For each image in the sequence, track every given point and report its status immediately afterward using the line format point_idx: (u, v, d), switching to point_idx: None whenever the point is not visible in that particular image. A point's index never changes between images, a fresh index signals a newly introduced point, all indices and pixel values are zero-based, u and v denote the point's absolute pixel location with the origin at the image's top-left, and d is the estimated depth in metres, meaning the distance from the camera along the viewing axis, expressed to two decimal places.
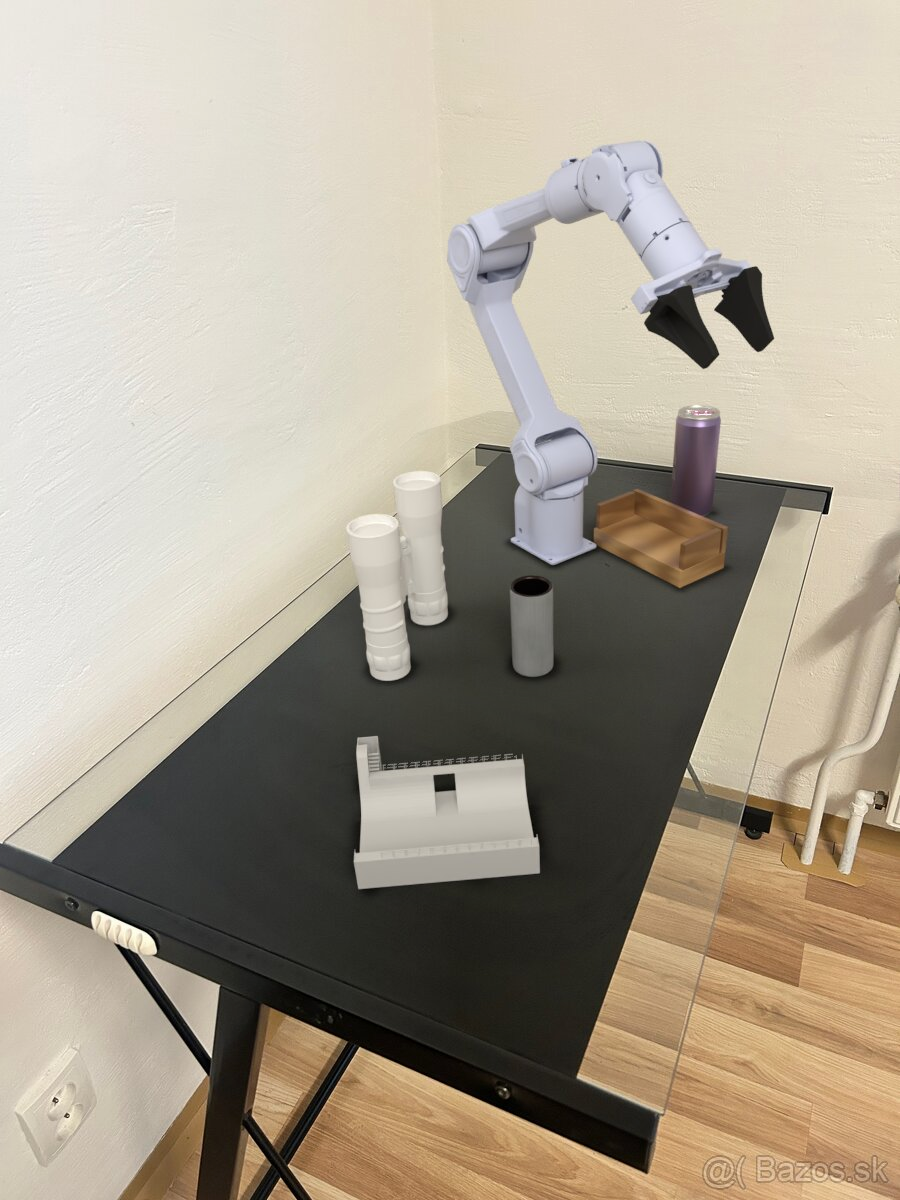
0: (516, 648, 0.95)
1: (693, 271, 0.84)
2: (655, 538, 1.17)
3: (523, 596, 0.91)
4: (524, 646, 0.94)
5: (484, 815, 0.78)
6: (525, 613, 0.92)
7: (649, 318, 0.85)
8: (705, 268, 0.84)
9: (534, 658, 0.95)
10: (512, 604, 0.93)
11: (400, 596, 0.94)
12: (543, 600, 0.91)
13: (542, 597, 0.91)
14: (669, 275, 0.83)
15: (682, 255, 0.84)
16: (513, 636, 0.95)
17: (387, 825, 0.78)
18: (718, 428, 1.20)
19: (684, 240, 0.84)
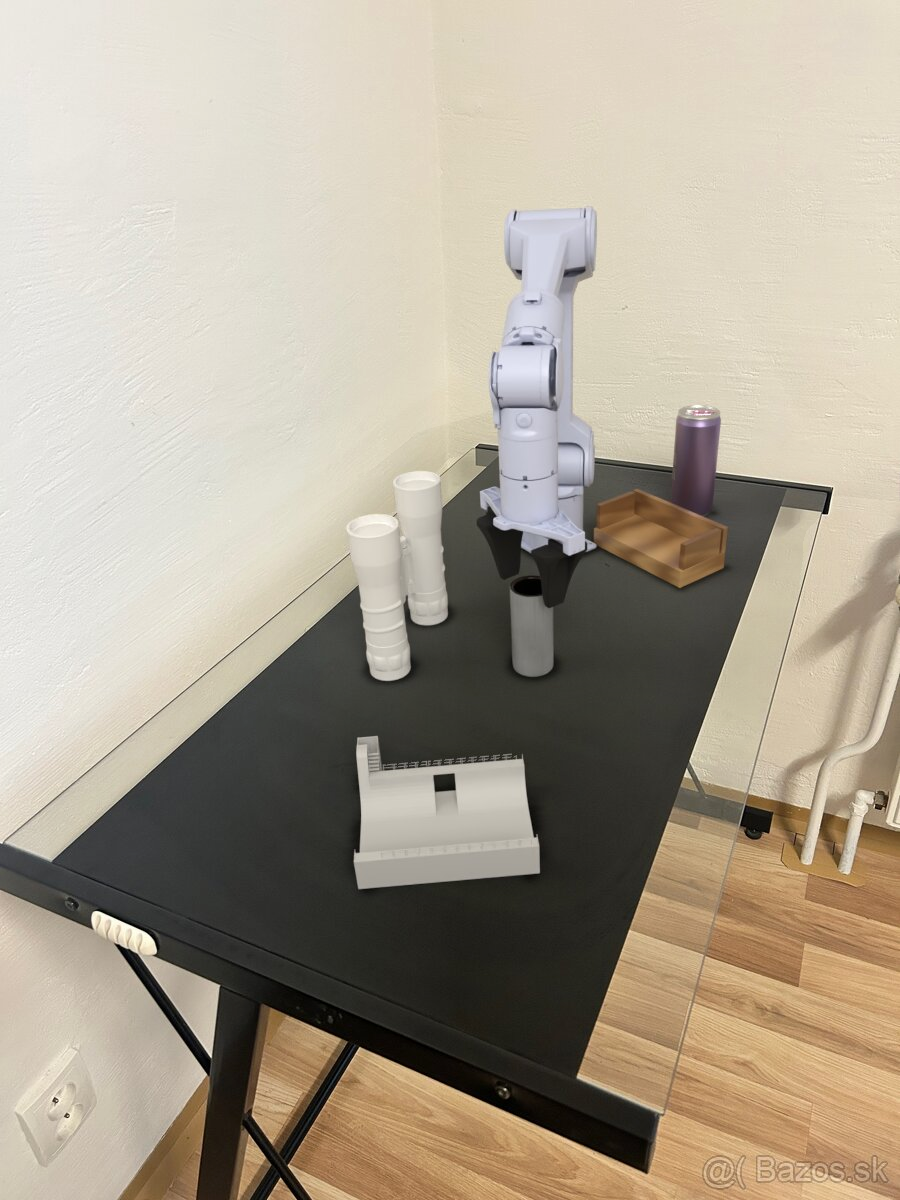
0: (516, 648, 0.95)
1: None
2: (655, 538, 1.17)
3: (523, 596, 0.91)
4: (524, 646, 0.94)
5: (484, 815, 0.78)
6: (525, 613, 0.92)
7: None
8: None
9: (534, 658, 0.95)
10: (512, 604, 0.93)
11: (400, 596, 0.94)
12: None
13: None
14: (491, 504, 0.91)
15: None
16: (513, 636, 0.95)
17: (387, 825, 0.78)
18: (718, 428, 1.20)
19: (501, 492, 0.86)
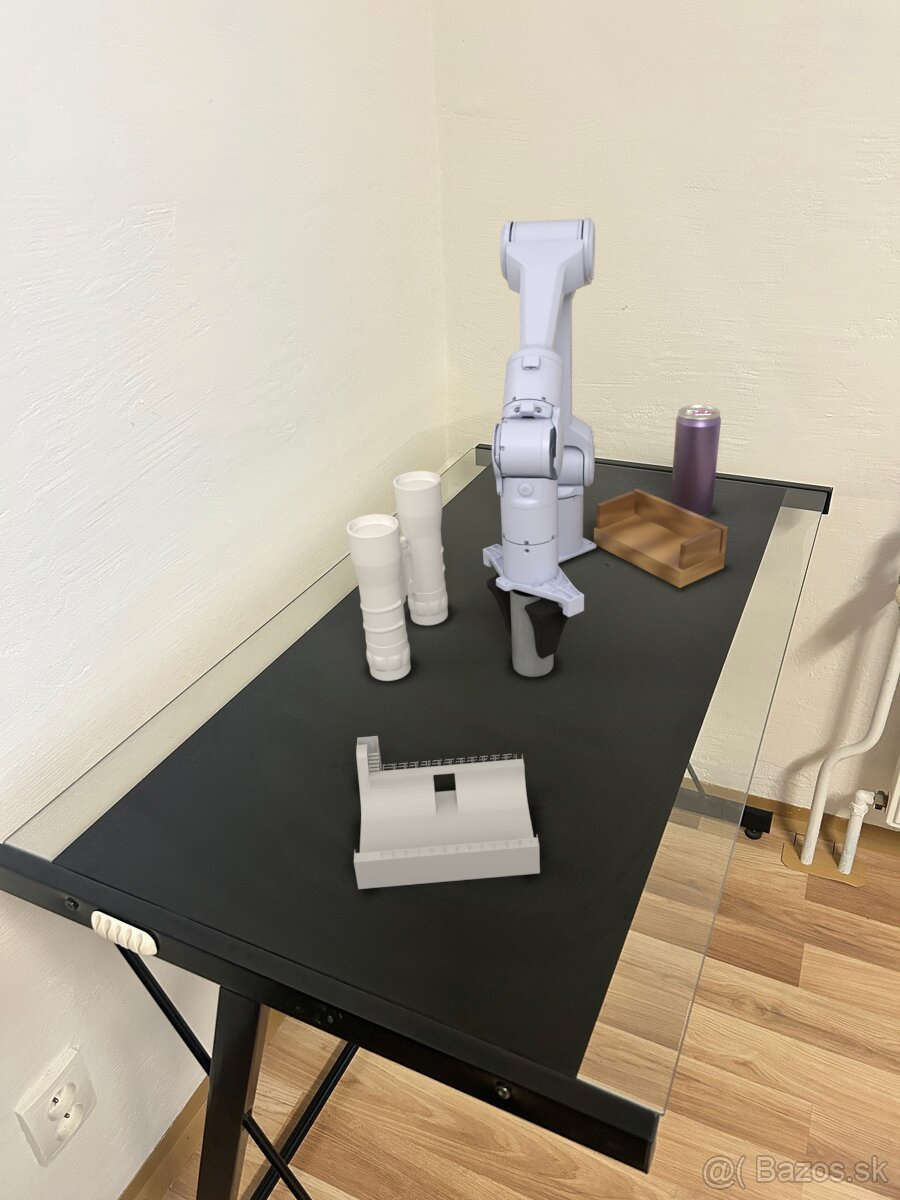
0: (516, 648, 0.95)
1: None
2: (655, 538, 1.17)
3: (523, 596, 0.91)
4: (524, 646, 0.94)
5: (484, 815, 0.78)
6: (525, 613, 0.92)
7: None
8: None
9: (535, 658, 0.95)
10: (512, 604, 0.93)
11: (400, 596, 0.94)
12: None
13: None
14: (493, 562, 0.94)
15: None
16: (513, 636, 0.95)
17: (387, 824, 0.78)
18: (718, 428, 1.20)
19: (503, 554, 0.90)
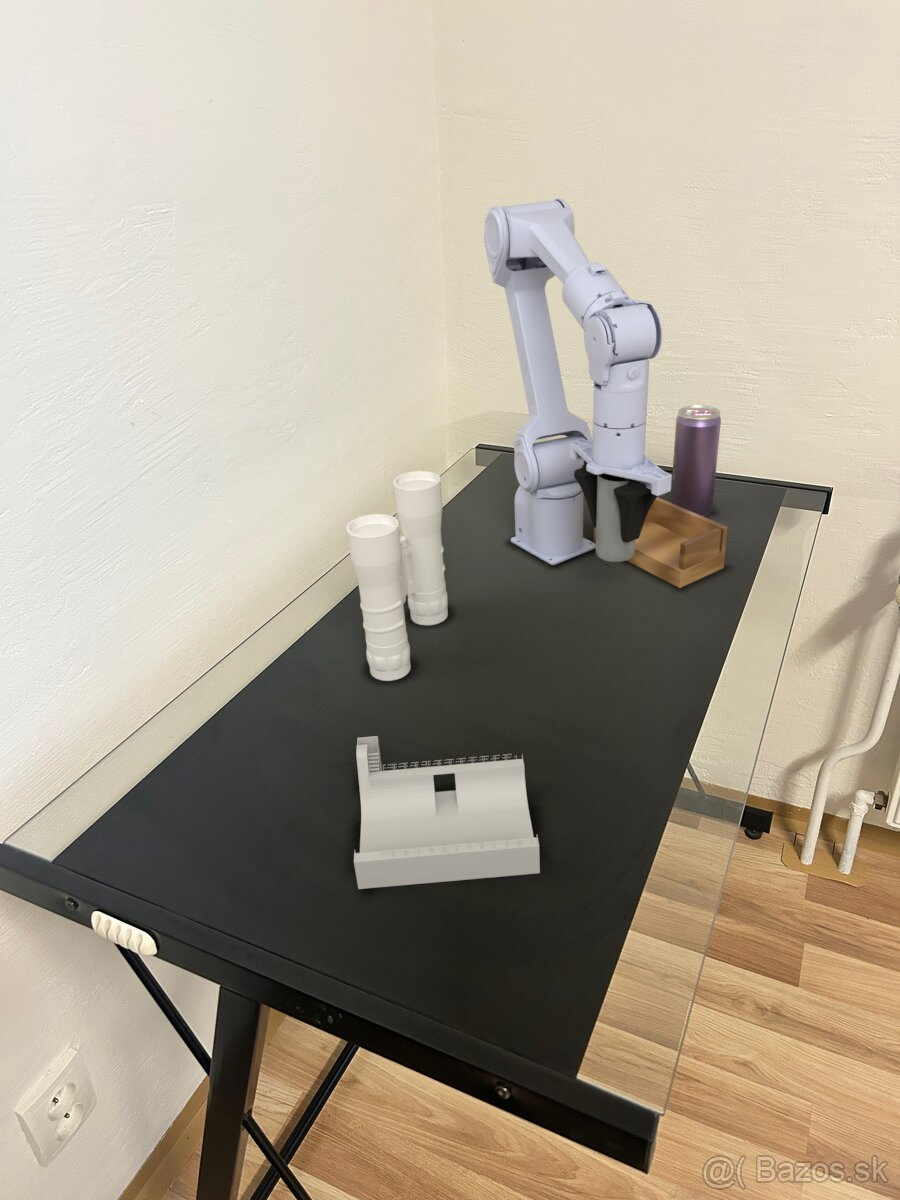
0: (601, 534, 1.02)
1: None
2: (655, 538, 1.17)
3: (611, 481, 0.97)
4: (609, 531, 1.01)
5: (484, 815, 0.78)
6: (613, 498, 0.98)
7: None
8: None
9: (619, 542, 1.01)
10: (600, 490, 0.99)
11: (400, 596, 0.94)
12: None
13: None
14: (581, 453, 1.01)
15: (592, 448, 0.98)
16: (599, 522, 1.01)
17: (387, 825, 0.78)
18: (718, 428, 1.20)
19: (594, 440, 0.96)
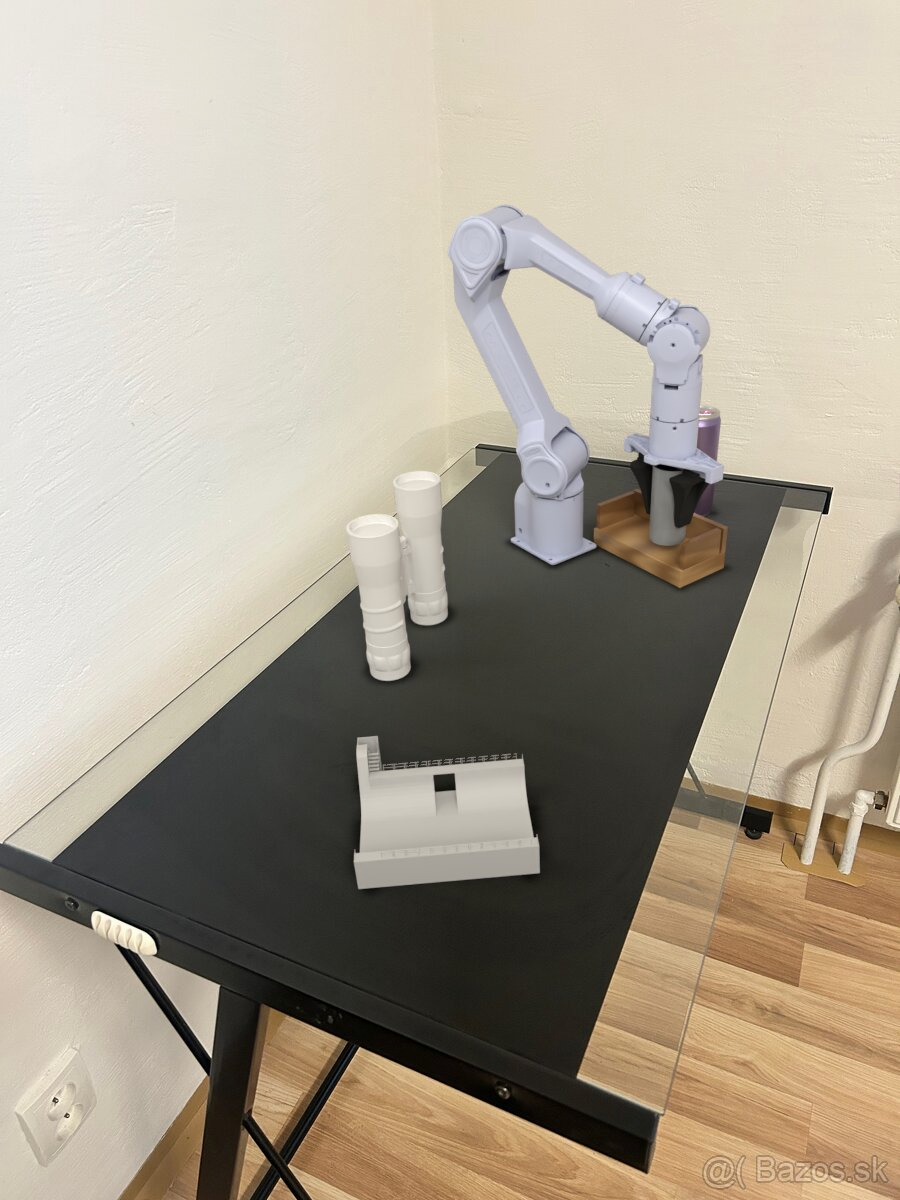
0: (655, 521, 1.11)
1: None
2: None
3: (667, 471, 1.06)
4: (664, 517, 1.10)
5: (484, 815, 0.78)
6: (668, 486, 1.07)
7: None
8: None
9: (672, 528, 1.10)
10: (655, 480, 1.08)
11: (400, 596, 0.94)
12: None
13: None
14: (637, 446, 1.10)
15: (649, 441, 1.07)
16: (654, 509, 1.10)
17: (387, 824, 0.78)
18: (718, 428, 1.20)
19: (651, 434, 1.05)
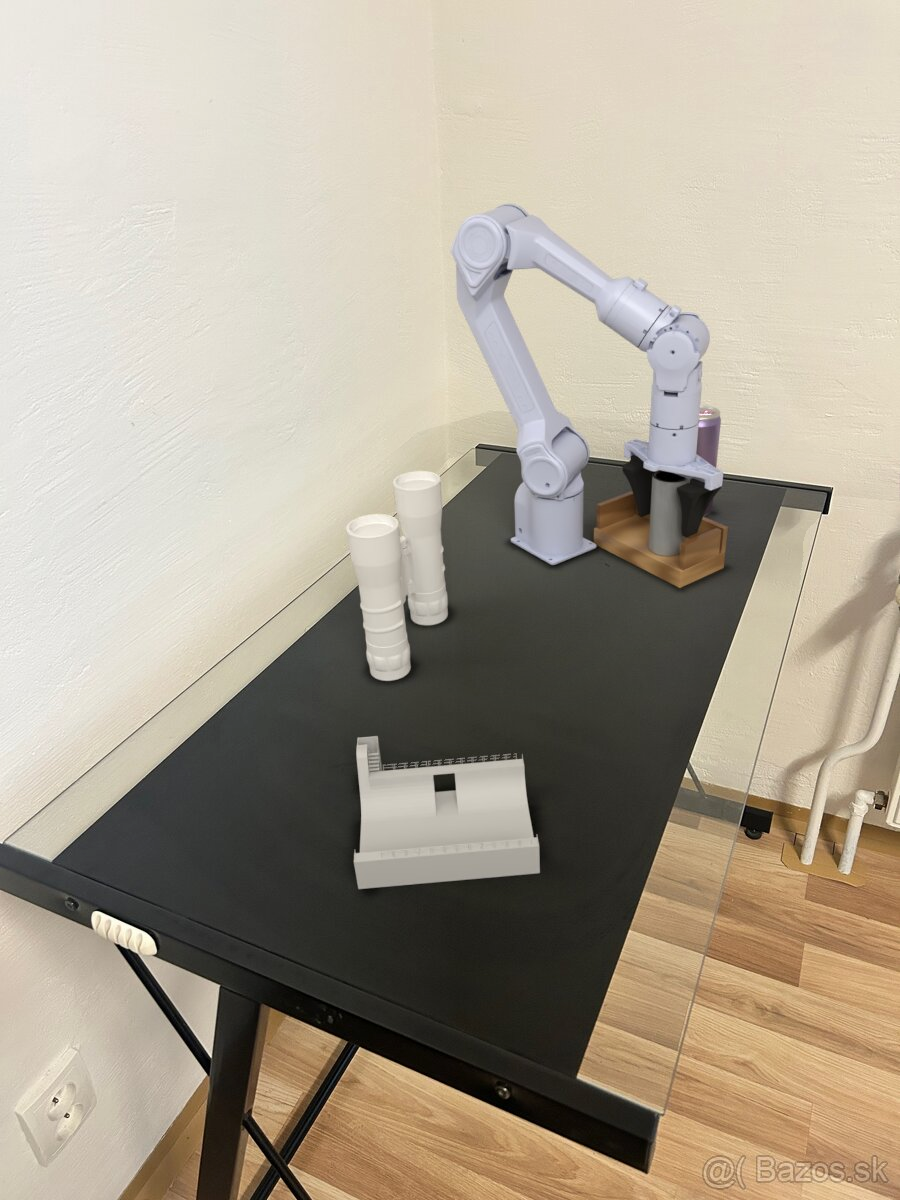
0: (655, 531, 1.11)
1: None
2: None
3: (666, 482, 1.07)
4: (663, 528, 1.10)
5: (484, 815, 0.78)
6: (667, 497, 1.08)
7: None
8: None
9: (671, 538, 1.11)
10: (655, 491, 1.09)
11: (400, 596, 0.94)
12: None
13: (683, 483, 1.07)
14: (637, 452, 1.10)
15: (648, 447, 1.07)
16: (653, 520, 1.11)
17: (387, 825, 0.78)
18: (718, 428, 1.20)
19: (651, 440, 1.06)
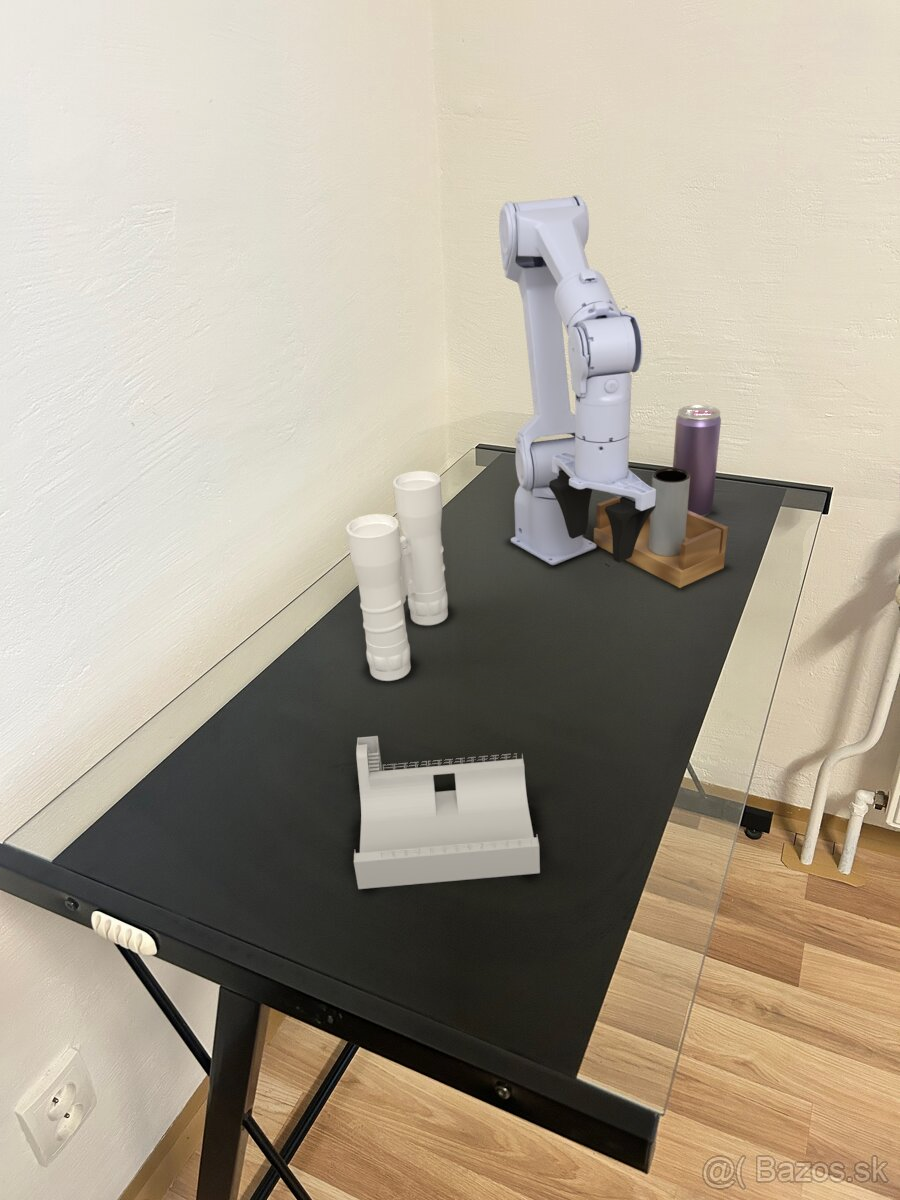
0: (655, 531, 1.11)
1: None
2: None
3: (666, 482, 1.07)
4: (663, 528, 1.10)
5: (484, 815, 0.78)
6: (667, 497, 1.08)
7: None
8: None
9: (671, 538, 1.11)
10: None
11: (400, 596, 0.94)
12: (683, 486, 1.08)
13: (683, 483, 1.07)
14: (564, 467, 0.99)
15: (575, 461, 0.96)
16: (653, 520, 1.11)
17: (387, 824, 0.78)
18: (718, 428, 1.20)
19: (576, 454, 0.94)
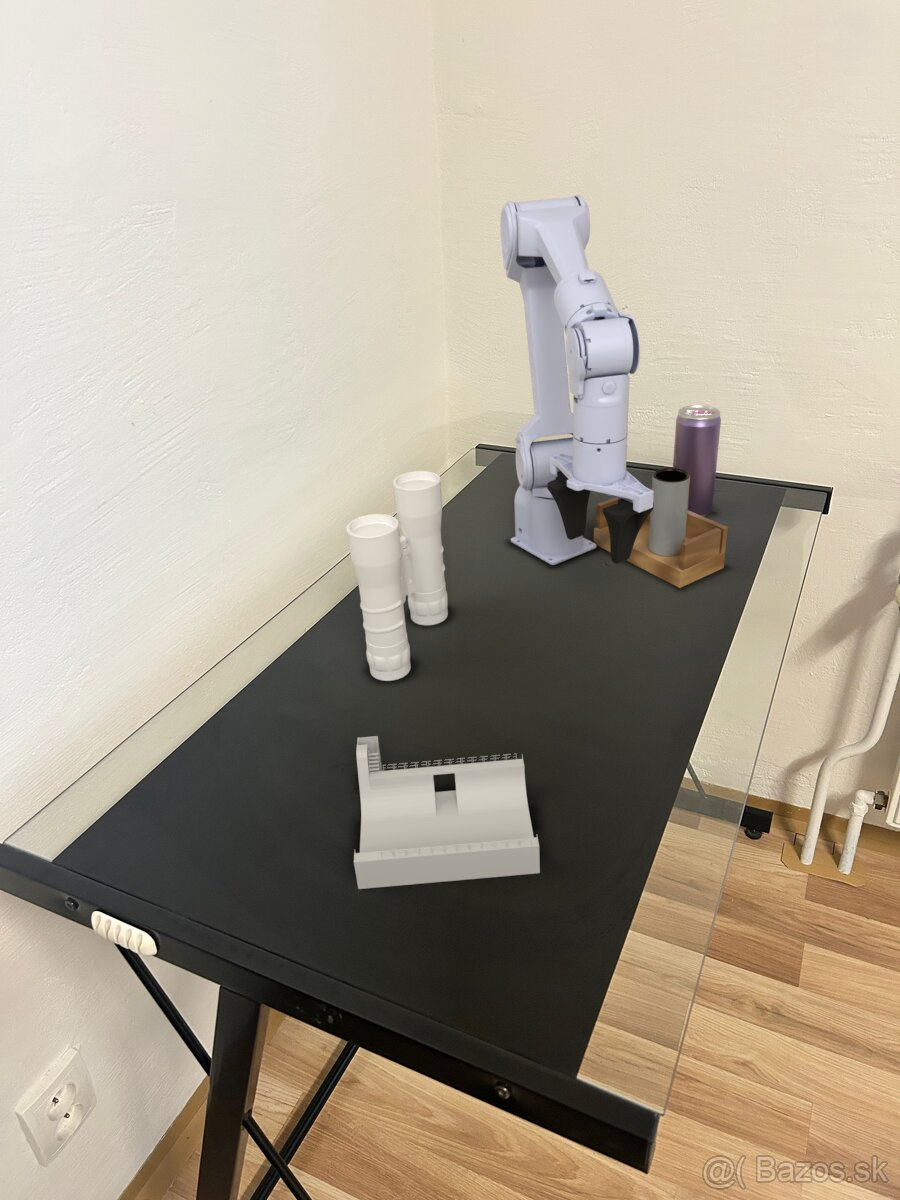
0: (655, 531, 1.11)
1: None
2: None
3: (666, 482, 1.07)
4: (663, 528, 1.10)
5: (484, 815, 0.78)
6: (667, 497, 1.08)
7: None
8: None
9: (671, 538, 1.11)
10: (655, 491, 1.09)
11: (400, 596, 0.94)
12: (683, 486, 1.08)
13: (683, 483, 1.07)
14: (562, 468, 0.98)
15: (573, 463, 0.96)
16: (653, 520, 1.11)
17: (387, 825, 0.78)
18: (718, 428, 1.20)
19: (574, 455, 0.94)
